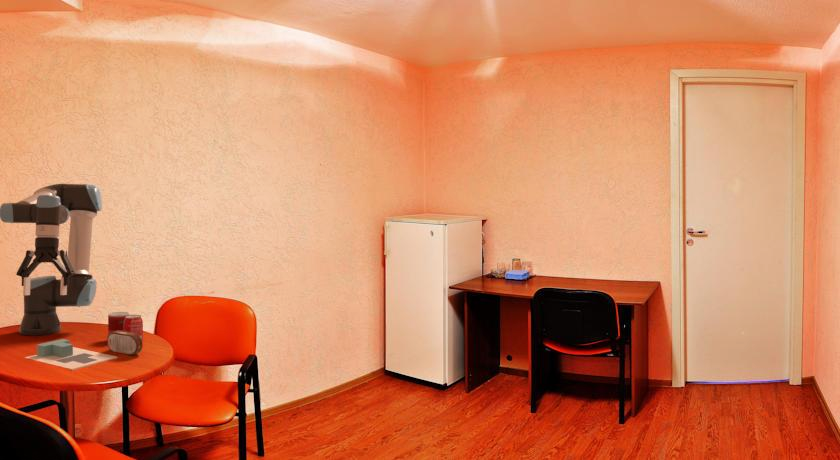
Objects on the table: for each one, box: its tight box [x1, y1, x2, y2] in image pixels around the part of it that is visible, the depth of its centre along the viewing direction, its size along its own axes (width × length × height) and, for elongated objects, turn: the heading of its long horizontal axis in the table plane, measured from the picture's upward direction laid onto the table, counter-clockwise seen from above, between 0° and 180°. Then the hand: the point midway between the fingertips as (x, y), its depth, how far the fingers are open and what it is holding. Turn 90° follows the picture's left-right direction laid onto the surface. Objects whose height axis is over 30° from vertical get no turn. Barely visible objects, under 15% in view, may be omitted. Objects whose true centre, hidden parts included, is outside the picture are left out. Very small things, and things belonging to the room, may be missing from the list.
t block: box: [36, 338, 74, 358], centre depth 232 cm, size 10×10×4 cm
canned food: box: [107, 311, 130, 336], centre depth 256 cm, size 8×8×11 cm
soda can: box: [123, 314, 144, 343], centre depth 248 cm, size 7×7×12 cm
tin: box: [106, 330, 143, 356], centre depth 238 cm, size 15×3×8 cm, turn 71°
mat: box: [24, 346, 118, 371], centre depth 229 cm, size 18×26×1 cm
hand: (45, 295), depth 228 cm, fingers open, 13 cm apart
